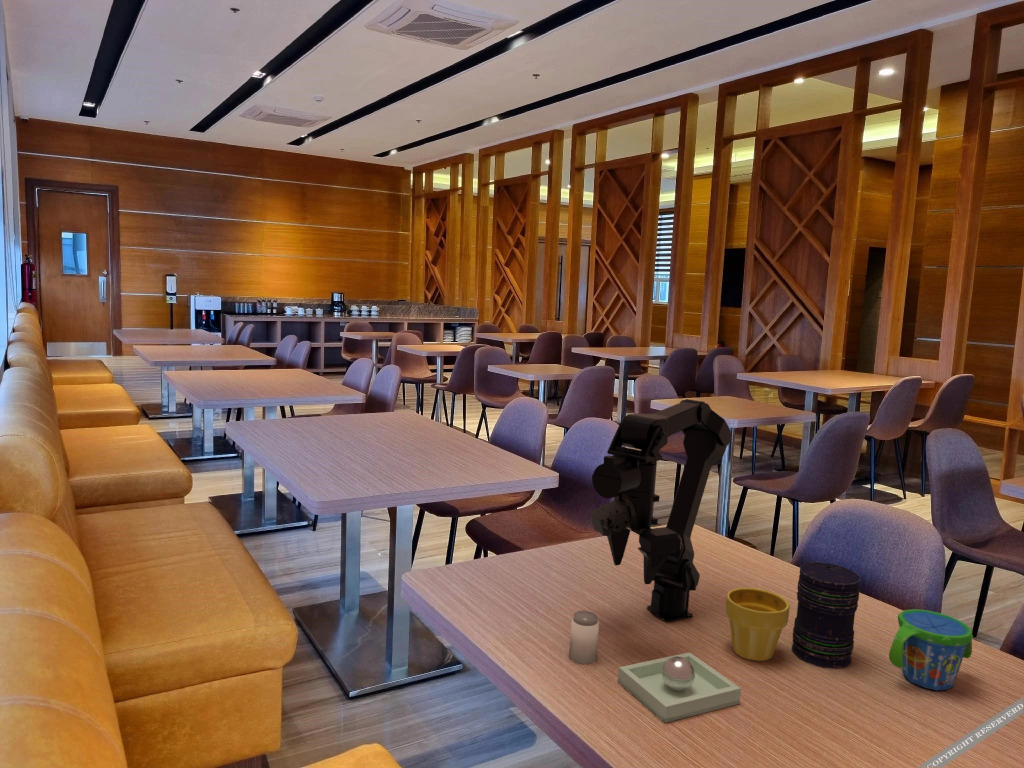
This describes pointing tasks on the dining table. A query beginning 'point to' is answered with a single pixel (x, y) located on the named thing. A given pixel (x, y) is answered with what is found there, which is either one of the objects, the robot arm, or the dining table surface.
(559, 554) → the dining table surface
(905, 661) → the snack cup
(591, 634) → the shaker
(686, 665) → the ball
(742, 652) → the plant pot
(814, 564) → the storage jar
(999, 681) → the dining table surface
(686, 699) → the tray
